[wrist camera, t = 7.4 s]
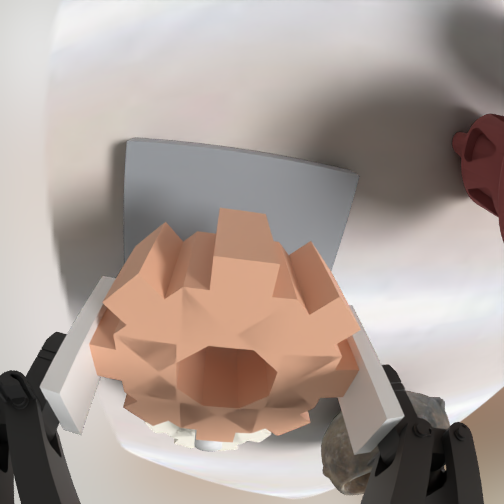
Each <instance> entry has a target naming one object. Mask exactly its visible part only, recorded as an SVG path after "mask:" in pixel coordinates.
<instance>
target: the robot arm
mask: <svg viewBox="0 0 504 504" xmlns="http://www.w3.org/2000/svg"><path fill="white" fill-rule="evenodd" d="M115 279H116V278H112V277H106V276H102V278H101V279H100V281H99V282H98V284H97V285H96V287H95V288H94V290H93V292H92V293H91V295H90V296H89V298H88V300H87V301H86V303H85V305H84V306H83V308H82V309H81V311H80V313H79V315H78V316H77V318H76V320H75V321H74V323H73V325H72V327H71V328H70V330H69V332H68V334H63V333H59V332H55V333H54V334H53V335H51V336H50V337H49V338H48V339H47V340H46V342H45V343H44V345H43V347H42V350H40V352H39V354H38V355H37V358H36V359H35V361H34V362H33V364H32V366H31V368H30V370H29V371H28V373H27V375H26V377H25V376H24V375H23V374H22V373H21V372H18V371H12V370H10V371H7V372H4V373H3V374H2V375H0V504H14V476H15V481H16V486H17V489H18V493H19V497H20V501H21V504H81V503H80V501H79V498H78V496H77V493H76V490H75V487H74V485H73V482H72V479H71V476H70V473H69V470H68V467H67V463H66V460H65V457H64V453H63V449H62V446H61V442H60V438H59V435H58V433H57V427H58V424H59V423H60V424H61V426H62V428H63V429H64V430H66V431H69V432H72V433H76V434H79V435H81V434H82V431H83V428H84V425H85V422H86V418H87V416H88V412H89V410H90V407H91V404H92V400H93V398H94V395H95V392H96V389H97V386H98V384H99V381H100V378H101V376H98V375H97V373H96V370H95V366H94V362H93V358H92V355H91V351H90V346H89V343H90V341H91V339H92V337H93V335H94V333H95V331H96V329H97V327H98V325H99V323H100V321H101V319H102V317H103V315H104V313H105V311H106V309H107V307H106V306H105V305H104V304H103V303H102V302H103V300H104V298H105V297H106V295H107V293H108V291H109V290H110V288H111V286H112V284H113V283H114V281H115ZM349 307H350V309H351V311H352V312H353V314H354V316H355V318H356V320H357V322H358V324H359V326H360V328H361V330H360V331H358V332H356V333H355V334H353V335H351V336H350V337H348V338H347V341H348V343H349V346H350V348H351V350H352V353H353V355H354V358H355V360H356V362H357V365H358V367H359V371H358V373H357V375H356V377H355V378H354V380H353V382H352V383H351V385H350V387H349V388H348V390H347V391H346V393H345V395H344V396H343V397H338V401H339V404H340V407H341V411H342V414H343V417H344V421H345V424H346V428H347V431H348V435H349V438H350V442H351V445H352V449H353V452H354V455H356V454H362V453H369V452H371V451H372V450H373V449H374V448H375V447H376V446H378V449H379V452H378V453H377V454H376V455H375V456H374V457H373V458H372V459H371V460H370V461H369V462H368V464H367V465H368V466H370V465H371V464H372V463H373V462H374V464H373V466H372V470H371V474H370V477H369V480H368V483H367V486H366V489H365V492H364V495H363V498H362V501H361V504H484V501H483V493H482V486H481V479H480V473H479V467H478V461H477V456H476V452H475V447H474V442H473V437H472V434H471V431H470V429H469V428H468V427H467V426H466V425H465V424H463V423H460V422H456V423H453V424H452V425H451V426H450V427H449V428H448V429H441V428H433V427H432V426H431V424H430V423H429V422H428V421H427V420H425V419H423V418H418V416H417V414H416V412H415V410H414V408H413V405H412V403H411V401H410V399H409V397H408V395H407V393H406V391H405V389H404V386H403V384H401V380H400V378H399V376H398V374H397V372H396V371H395V370H394V369H393V368H392V367H391V366H390V365H381V363H380V361H379V359H378V356H377V354H376V352H375V350H374V348H373V346H372V344H371V342H370V340H369V338H368V336H367V334H366V332H365V330H364V328H363V326H362V324H361V322H360V320H359V318H358V316H357V314H356V312H355V310H354V308H353V306H352V305H349ZM444 465H446V471H445V469H444Z"/></svg>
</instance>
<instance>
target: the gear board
mask: <svg viewBox="0 0 504 504" xmlns="http://www.w3.org/2000/svg"><path fill="white" fill-rule="evenodd" d="M358 180H359V175H357V174H356V173H354V172H353V171H351V170H348V169H344V168H340V167H335V166H331V165H326V164H322V163H317V162H312V161H307V160H303V159H297V158H292V157H287V156H282V155H276V154H270V153H265V152H259V151H252V150H246V149H239V148H232V147H225V146H218V145H210V144H202V143H193V142H183V141H173V140H162V139H149V138H133V139H130V140H128V141H127V146H126V160H125V179H124V264H125V262H126V261H127V259H128V257H129V256H130V254H131V253H132V251H133V249H134V248H135V246H136V245H138V244H139V243H140V242H141V241H142V240H144V239H145V238H146V237H147V236H149V235H150V234H151V233H152V232H153V231H155V230H156V229H157V228H158V227H160V226H161V225H162V224H163V223H165V222H166V223H167V224H168V225H169V226H170V227H171V228H172V229H173V231H174V232H175V233H176V234H177V235H178V236H179V237H180V239H181V240H182V241H185V240H186V239H188V238H189V237H190V236H192V235H193V234H194V233H196V232H197V231H200V232H207V233H215V234H216V232H217V224H218V217H219V210H220V208H227V209H234V210H241V211H248V212H255V213H262V214H266V216H267V220H268V223H269V227H270V230H271V234H272V237H273V241H276V242H279V243H280V244H281V245H282V247H283V248H284V249H285V251H286V252H287V253H288V255H290V254H291V253H293V252H294V251H296V250H297V249H299V248H301V247H302V246H304V245H305V244H307V243H308V242H310V241H311V242H312V243H313V245H314V246H315V248H316V249H317V251H318V252H319V254H320V255H321V257H322V258H323V260H324V261H325V263H326V264H327V266H328V268H329V269H330V271H331V270H332V267H333V264H334V261H335V258H336V255H337V252H338V249H339V245H340V242H341V239H342V236H343V233H344V229H345V226H346V223H347V219H348V216H349V212H350V209H351V205H352V202H353V198H354V195H355V191H356V187H357V184H358ZM196 432H197V430H195V442H194V446H195V447H196V448H197V449H199V450H202V451H208V452H213V451H218V450H220V449H221V448H222V442H217V441H205V440H196Z"/></svg>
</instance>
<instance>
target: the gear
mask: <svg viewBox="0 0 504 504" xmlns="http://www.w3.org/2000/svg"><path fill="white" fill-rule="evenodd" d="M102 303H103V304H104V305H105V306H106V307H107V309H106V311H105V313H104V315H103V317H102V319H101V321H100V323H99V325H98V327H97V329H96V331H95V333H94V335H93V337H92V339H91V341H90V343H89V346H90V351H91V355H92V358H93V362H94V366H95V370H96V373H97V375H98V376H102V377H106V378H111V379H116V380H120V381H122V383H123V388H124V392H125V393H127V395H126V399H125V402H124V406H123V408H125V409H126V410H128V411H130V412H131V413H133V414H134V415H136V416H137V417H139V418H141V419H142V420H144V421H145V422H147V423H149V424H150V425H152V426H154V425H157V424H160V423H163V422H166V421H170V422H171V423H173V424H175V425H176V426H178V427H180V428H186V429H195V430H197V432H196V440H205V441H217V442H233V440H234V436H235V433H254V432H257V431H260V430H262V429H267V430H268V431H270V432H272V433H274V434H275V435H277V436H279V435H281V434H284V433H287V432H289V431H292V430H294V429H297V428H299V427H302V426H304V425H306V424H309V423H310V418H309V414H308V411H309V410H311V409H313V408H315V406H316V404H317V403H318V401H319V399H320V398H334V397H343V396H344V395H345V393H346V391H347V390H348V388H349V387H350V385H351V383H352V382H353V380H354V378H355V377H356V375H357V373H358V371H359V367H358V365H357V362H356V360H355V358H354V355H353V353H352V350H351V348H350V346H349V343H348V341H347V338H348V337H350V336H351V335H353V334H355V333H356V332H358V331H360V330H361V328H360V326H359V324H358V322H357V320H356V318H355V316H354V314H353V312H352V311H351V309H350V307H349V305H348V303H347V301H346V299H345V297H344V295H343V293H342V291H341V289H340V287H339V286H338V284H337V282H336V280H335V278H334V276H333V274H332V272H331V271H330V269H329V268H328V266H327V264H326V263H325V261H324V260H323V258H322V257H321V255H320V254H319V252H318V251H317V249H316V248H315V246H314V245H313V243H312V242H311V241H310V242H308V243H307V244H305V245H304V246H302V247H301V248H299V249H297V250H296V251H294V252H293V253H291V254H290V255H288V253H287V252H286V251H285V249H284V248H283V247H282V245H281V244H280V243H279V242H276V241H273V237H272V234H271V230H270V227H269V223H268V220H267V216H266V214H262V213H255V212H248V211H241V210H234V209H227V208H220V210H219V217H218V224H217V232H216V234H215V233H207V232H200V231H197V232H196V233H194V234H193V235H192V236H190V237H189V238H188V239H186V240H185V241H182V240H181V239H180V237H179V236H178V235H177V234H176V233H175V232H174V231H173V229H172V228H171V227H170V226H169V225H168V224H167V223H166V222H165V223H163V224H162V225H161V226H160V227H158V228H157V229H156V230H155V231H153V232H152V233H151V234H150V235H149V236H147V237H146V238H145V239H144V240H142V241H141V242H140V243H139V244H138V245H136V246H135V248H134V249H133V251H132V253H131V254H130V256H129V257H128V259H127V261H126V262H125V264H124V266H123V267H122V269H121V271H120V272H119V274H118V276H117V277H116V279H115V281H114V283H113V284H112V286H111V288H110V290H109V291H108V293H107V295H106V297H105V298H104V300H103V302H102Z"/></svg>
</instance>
